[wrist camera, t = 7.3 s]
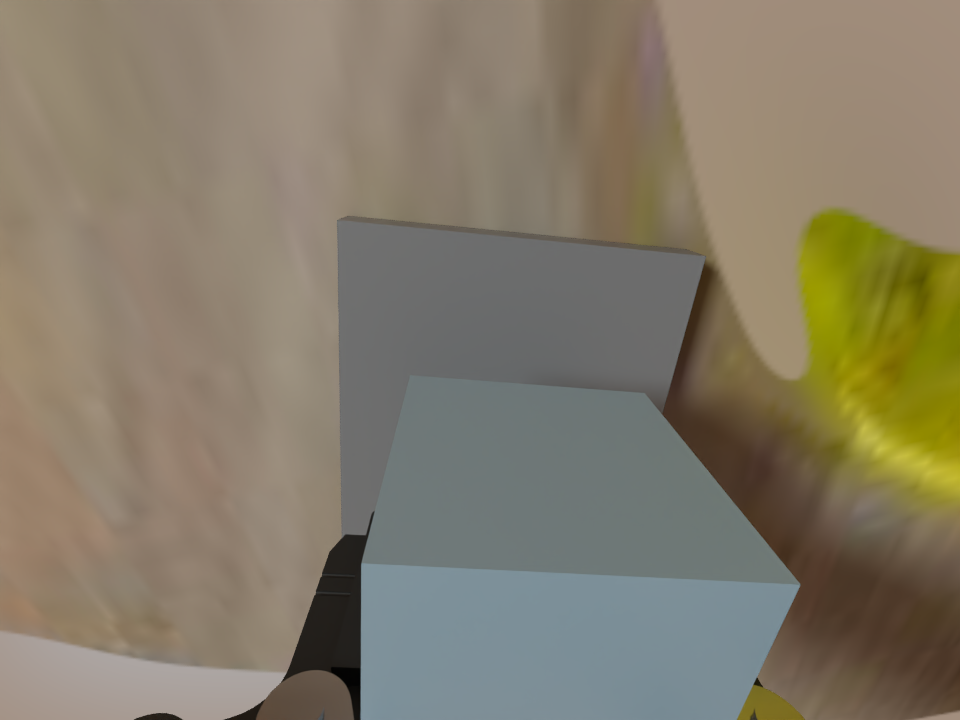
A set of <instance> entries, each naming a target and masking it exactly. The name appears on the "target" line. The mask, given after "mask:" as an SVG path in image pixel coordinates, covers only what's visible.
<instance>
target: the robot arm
mask: <svg viewBox="0 0 960 720" xmlns="http://www.w3.org/2000/svg"><path fill="white" fill-rule="evenodd" d="M374 513H375V511H373V512H372V514H371V518H370V522H369V525H368V529H367V533H366V535H351V534H345V535H344V537H343V538H342V539H341V540H340V541H339V542H338V543H337V544H336V545H335V546H334V548H333V549H332V550H331V551H330V552H329V555H328V558H327V561H326V564H325V567H324V570H323V572H322V577H321V578H320V581H319V584H318V587H317V590H316V595H314V598H313V601H312V604H311V607H310V610H309V613H308V615H307V618H306V621H305V624H304V627H303V630H302V633H301V636H300V638H299V641H298V644H297V647H296V650H295V653H294V656H293V658H292V661H291V664H290V667H289V669H288V671H287V673H286V675H285V677H284V679H283V680H282V682H281V683H280V684H279V685H278V686H277V687H276V688H275V689H274V690H273V691H272V692H271V693H270V694H269V695H268V697H267V698H266V699H265V700H264V701H262V702H261V703H260V704H258V705H257V706H255V707H254V708H252V709H250V710H248V711H246V712H244V713H242V714H239V715H237V716H234V717H231V718H228V719H225V720H361V563H362V559H363V555H364V551H365V547H366V544H367V540H368V536H369V532H370V528H371V524H372V520H373V517H374ZM134 720H182V719H181V718H179V717H177V716H175V715H172V714H167V713H156V714H151V715H146V716H143V717H139V718H137V719H134ZM737 720H805V719H804V717H803V716H802V715H801V714H800V713H799V712H798V711H797V710H796V709H795V708H794V707H793V706H792V705H791V704H790V703H788V702H787V701H786V700H785V699H783V698H782V697H780V696H779V695H777V694H775V693H774V692H772V691H770V690H768V689H765V688H763V686H762V685H761V683H760V682H759V680H758V678H756V680H755V682H754V684H753V686H752V688H751V691H750V693H749V695H748V697H747V699H746V701H745V703H744V705H743V707H742V710H741V712H740V714H739V716H738V718H737Z"/></svg>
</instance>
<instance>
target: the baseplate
mask: <svg viewBox="0 0 960 720" xmlns="http://www.w3.org/2000/svg"><path fill="white" fill-rule="evenodd" d="M337 238H338V307H339V376H340V446H341V515H342V538H343V537H344V535H345V534H351V535H366V533H367V529H368V525H369V522H370V518H371V514H372V512H373V511H375V509H376V505H377V501H378V497H379V493H380V490H381V486H382V482H383V478H384V474H385V470H386V466H387V463H388V459H389V455H390V451H391V447H392V443H393V440H394V436H395V432H396V428H397V424H398V420H399V416H400V413H401V409H402V405H403V401H404V397H405V393H406V389H407V386H408V382H409V378H410V375H414V376H427V377H440V378H454V379H467V380H480V381H493V382H506V383H519V384H533V385H546V386H559V387H572V388H585V389H599V390H612V391H625V392H638V393H645V394H646V395H647V397H648V398H649V399H650V400H651V401H652V403H653V404H654V405H655V406H656V408H657V409H658V410H659V411H660V413H661V414H662V413H663V410H664V406H665V403H666V399H667V395H668V392H669V388H670V385H671V381H672V377H673V374H674V370H675V367H676V363H677V359H678V356H679V352H680V349H681V345H682V341H683V338H684V334H685V330H686V327H687V323H688V320H689V316H690V312H691V309H692V305H693V302H694V298H695V294H696V291H697V287H698V284H699V280H700V276H701V273H702V269H703V266H704V262H705V258H706V256H704V255H701V254H698V253H695V252H693V251H690V250H687V249H677V248H667V247H657V246H647V245H637V244H627V243H616V242H606V241H596V240H586V239H576V238H566V237H556V236H546V235H536V234H526V233H516V232H506V231H495V230H485V229H475V228H465V227H455V226H445V225H435V224H425V223H415V222H405V221H395V220H384V219H374V218H364V217H354V216H346V217H344V218H341V219H339V220H337Z"/></svg>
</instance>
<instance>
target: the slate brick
mask: <svg viewBox="0 0 960 720" xmlns="http://www.w3.org/2000/svg"><path fill="white" fill-rule="evenodd" d="M800 585H801V584H800V583H799V582H798V581H797V580H796V578H795V577H794V576H793V575H792V573H791V572H790V571H789V570H788V568H787V567H786V566H785V565H784V564H783V562H782V561H781V560H780V559H779V557H778V556H777V555H776V554H775V553H774V551H773V550H772V549H771V548H770V546H769V545H768V544H767V543H766V541H765V540H764V539H763V538H762V537H761V535H760V534H759V533H758V532H757V530H756V529H755V528H754V527H753V526H752V524H751V523H750V522H749V521H748V519H747V518H746V517H745V516H744V514H743V513H742V512H741V511H740V510H739V508H738V507H737V506H736V505H735V503H734V502H733V501H732V500H731V498H730V497H729V496H728V495H727V494H726V492H725V491H724V490H723V489H722V487H721V486H720V485H719V484H718V483H717V481H716V480H715V479H714V478H713V476H712V475H711V474H710V473H709V471H708V470H707V469H706V468H705V467H704V465H703V464H702V463H701V462H700V460H699V459H698V458H697V457H696V456H695V454H694V453H693V452H692V451H691V449H690V448H689V447H688V446H687V444H686V443H685V442H684V441H683V440H682V438H681V437H680V436H679V435H678V433H677V432H676V431H675V430H674V428H673V427H672V426H671V425H670V424H669V422H668V421H667V420H666V419H665V417H664V416H663V415H662V414H661V413H660V411H659V410H658V409H657V408H656V406H655V405H654V404H653V403H652V401H651V400H650V399H649V398H648V397H647V395H646V394H645V393H638V392H625V391H612V390H599V389H585V388H572V387H559V386H546V385H533V384H519V383H506V382H493V381H480V380H467V379H454V378H440V377H427V376H414V375H410V378H409V382H408V386H407V389H406V393H405V397H404V401H403V405H402V409H401V413H400V416H399V420H398V424H397V428H396V432H395V436H394V440H393V443H392V447H391V451H390V455H389V459H388V463H387V466H386V470H385V474H384V478H383V482H382V486H381V490H380V493H379V497H378V501H377V505H376V509H375V513H374V517H373V520H372V524H371V528H370V532H369V536H368V540H367V544H366V547H365V551H364V555H363V559H362V563H361V720H737V718H738V716H739V714H740V712H741V710H742V707H743V705H744V703H745V701H746V699H747V697H748V695H749V693H750V691H751V688H752V686H753V684H754V682H755V680H756V678H757V676H758V674H759V672H760V669H761V667H762V665H763V663H764V661H765V659H766V657H767V655H768V653H769V651H770V648H771V646H772V644H773V642H774V640H775V638H776V636H777V634H778V632H779V629H780V627H781V625H782V623H783V621H784V619H785V617H786V615H787V613H788V610H789V608H790V606H791V604H792V602H793V600H794V598H795V596H796V594H797V591H798V589H799V587H800Z"/></svg>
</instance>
